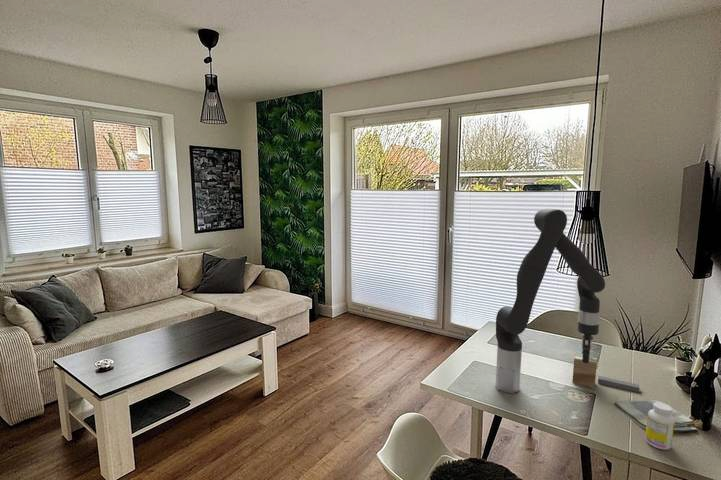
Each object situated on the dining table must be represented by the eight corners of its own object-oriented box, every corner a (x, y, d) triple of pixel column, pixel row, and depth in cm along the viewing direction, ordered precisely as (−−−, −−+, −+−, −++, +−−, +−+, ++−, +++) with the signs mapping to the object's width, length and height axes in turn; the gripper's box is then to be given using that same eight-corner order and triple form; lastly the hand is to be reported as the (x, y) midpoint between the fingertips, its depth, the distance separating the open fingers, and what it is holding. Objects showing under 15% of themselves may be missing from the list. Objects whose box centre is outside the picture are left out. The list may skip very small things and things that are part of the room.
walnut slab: (594, 388, 156) (596, 362, 155) (572, 382, 161) (574, 357, 159) (595, 383, 160) (597, 358, 159) (573, 378, 164) (575, 353, 163)
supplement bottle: (657, 436, 126) (663, 399, 124) (676, 450, 119) (682, 411, 117) (639, 437, 125) (644, 400, 123) (657, 451, 118) (662, 412, 116)
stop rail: (639, 392, 153) (639, 387, 152) (597, 383, 160) (598, 378, 160) (638, 389, 155) (639, 384, 155) (598, 380, 163) (598, 375, 162)
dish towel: (611, 405, 145) (612, 397, 145) (658, 404, 145) (659, 396, 145) (649, 436, 127) (650, 427, 126) (702, 435, 127) (703, 426, 126)
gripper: (598, 328, 149) (596, 367, 151) (599, 317, 161) (597, 354, 163) (576, 324, 153) (574, 363, 155) (579, 314, 165) (577, 350, 167)
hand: (586, 358), depth 159 cm, fingers open, 8 cm apart
